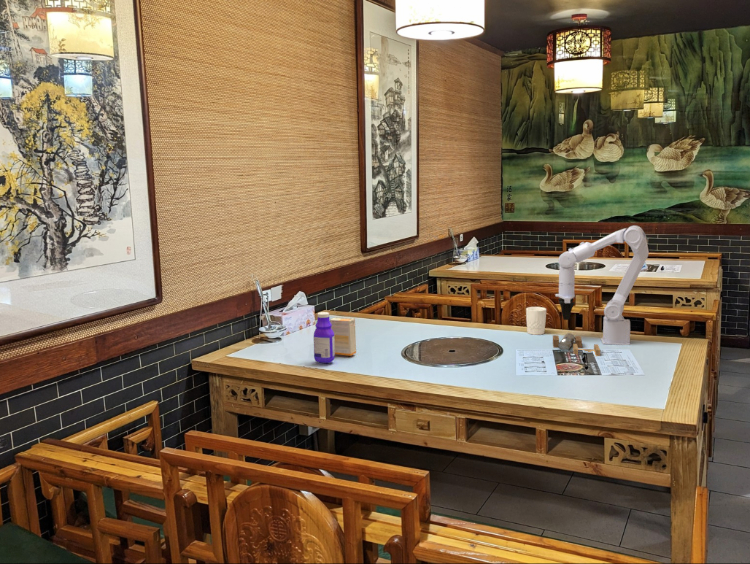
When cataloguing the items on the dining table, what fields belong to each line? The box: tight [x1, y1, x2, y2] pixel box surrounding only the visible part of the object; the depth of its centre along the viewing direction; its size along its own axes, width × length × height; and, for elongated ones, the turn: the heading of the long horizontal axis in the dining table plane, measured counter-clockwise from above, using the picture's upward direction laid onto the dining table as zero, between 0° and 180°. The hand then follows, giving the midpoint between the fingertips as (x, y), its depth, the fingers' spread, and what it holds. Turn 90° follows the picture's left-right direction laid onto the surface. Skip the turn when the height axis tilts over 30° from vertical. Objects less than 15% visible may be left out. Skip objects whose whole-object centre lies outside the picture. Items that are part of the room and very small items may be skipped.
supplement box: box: [330, 316, 357, 357], centre depth 245 cm, size 8×5×13 cm, turn 65°
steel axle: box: [558, 332, 576, 351], centre depth 248 cm, size 12×4×4 cm, turn 155°
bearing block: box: [552, 334, 583, 349], centre depth 249 cm, size 10×7×3 cm
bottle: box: [313, 311, 336, 364], centre depth 235 cm, size 7×6×17 cm
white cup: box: [525, 306, 547, 336], centre depth 270 cm, size 8×8×10 cm
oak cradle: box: [572, 343, 601, 357], centre depth 238 cm, size 9×9×3 cm
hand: (565, 318), depth 258 cm, fingers open, 5 cm apart
